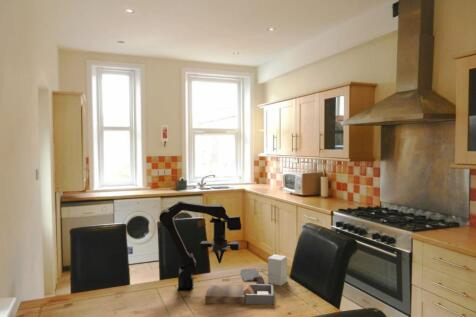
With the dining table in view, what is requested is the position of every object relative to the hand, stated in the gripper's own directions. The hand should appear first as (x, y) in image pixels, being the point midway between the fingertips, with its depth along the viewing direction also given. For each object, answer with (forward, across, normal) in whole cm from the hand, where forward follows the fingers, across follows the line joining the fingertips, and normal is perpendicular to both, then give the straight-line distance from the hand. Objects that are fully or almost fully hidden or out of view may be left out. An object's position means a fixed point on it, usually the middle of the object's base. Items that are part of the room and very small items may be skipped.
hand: (219, 263), depth 174 cm
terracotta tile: (+9, +14, -13) cm, 21 cm away
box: (+11, +20, -13) cm, 26 cm away
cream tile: (+9, +21, -13) cm, 26 cm away
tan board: (+11, +4, -13) cm, 18 cm away
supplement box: (+11, +28, +6) cm, 31 cm away
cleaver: (+12, +16, +8) cm, 21 cm away
